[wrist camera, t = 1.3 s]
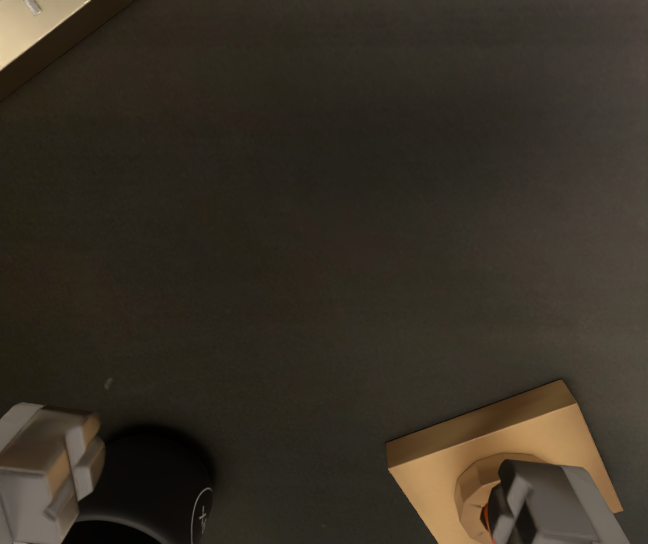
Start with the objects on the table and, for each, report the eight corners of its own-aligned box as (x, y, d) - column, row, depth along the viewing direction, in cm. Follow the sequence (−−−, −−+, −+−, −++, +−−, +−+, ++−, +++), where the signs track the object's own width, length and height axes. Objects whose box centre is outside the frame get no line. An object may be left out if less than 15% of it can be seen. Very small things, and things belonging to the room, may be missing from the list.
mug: (223, 431, 31) (190, 528, 25) (217, 517, 35) (187, 620, 29) (50, 405, 31) (-28, 495, 25) (63, 494, 35) (-2, 592, 29)
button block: (561, 378, 28) (592, 426, 24) (606, 482, 32) (639, 537, 28) (385, 442, 31) (390, 493, 27) (444, 531, 35) (454, 586, 31)
